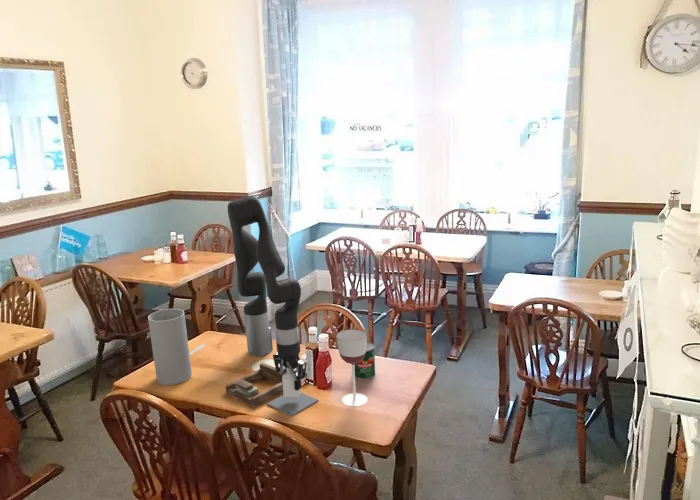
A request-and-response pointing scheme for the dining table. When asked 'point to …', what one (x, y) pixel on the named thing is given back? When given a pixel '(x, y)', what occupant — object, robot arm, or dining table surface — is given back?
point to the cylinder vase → (170, 346)
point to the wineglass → (352, 359)
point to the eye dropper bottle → (289, 386)
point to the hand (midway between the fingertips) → (291, 386)
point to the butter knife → (197, 348)
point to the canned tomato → (366, 364)
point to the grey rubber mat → (293, 404)
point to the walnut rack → (263, 372)
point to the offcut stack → (246, 388)
